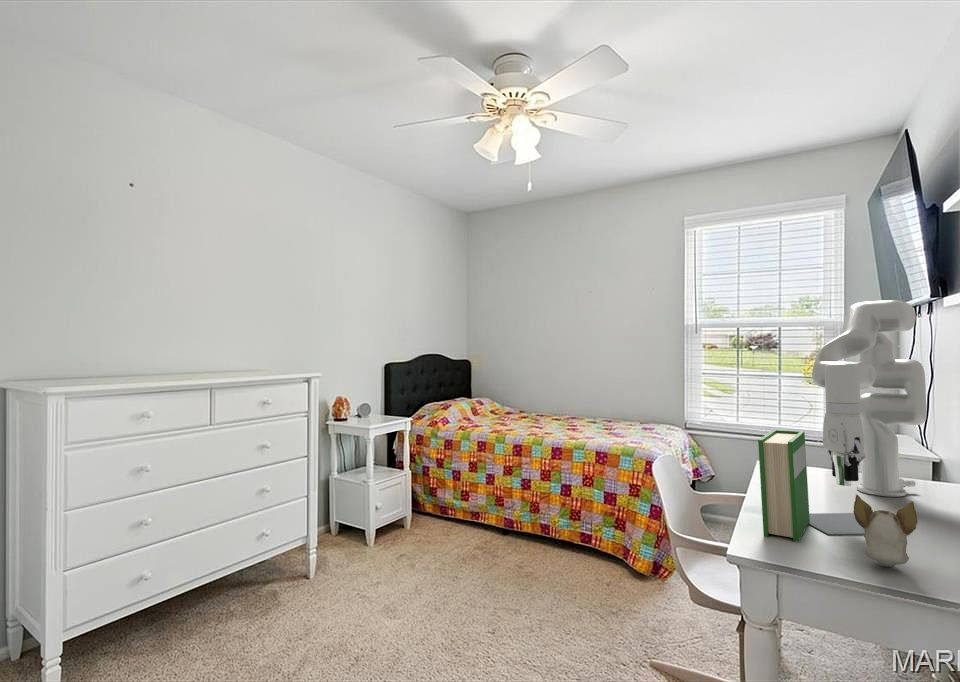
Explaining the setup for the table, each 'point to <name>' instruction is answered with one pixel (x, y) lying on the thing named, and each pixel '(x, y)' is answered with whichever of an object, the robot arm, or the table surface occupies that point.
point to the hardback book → (784, 483)
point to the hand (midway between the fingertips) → (845, 477)
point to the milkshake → (840, 468)
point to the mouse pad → (836, 523)
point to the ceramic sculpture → (886, 532)
